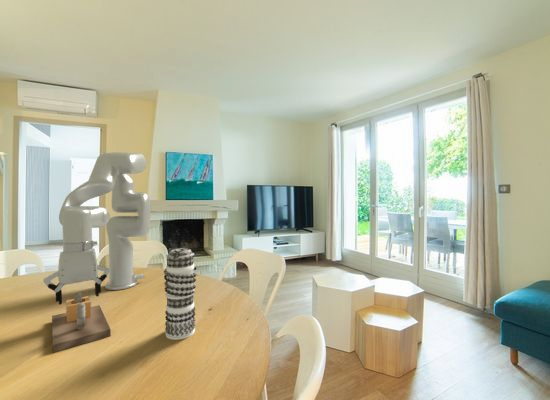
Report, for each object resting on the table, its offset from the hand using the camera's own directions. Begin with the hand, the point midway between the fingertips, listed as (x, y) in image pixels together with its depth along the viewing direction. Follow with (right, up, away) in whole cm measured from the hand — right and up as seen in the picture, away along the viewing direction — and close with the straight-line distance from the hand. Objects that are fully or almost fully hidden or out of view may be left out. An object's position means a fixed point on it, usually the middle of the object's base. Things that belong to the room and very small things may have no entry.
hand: (79, 298), depth 87 cm
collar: (0, -5, -1) cm, 5 cm away
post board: (+3, -8, -4) cm, 9 cm away
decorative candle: (+35, -8, -6) cm, 36 cm away
